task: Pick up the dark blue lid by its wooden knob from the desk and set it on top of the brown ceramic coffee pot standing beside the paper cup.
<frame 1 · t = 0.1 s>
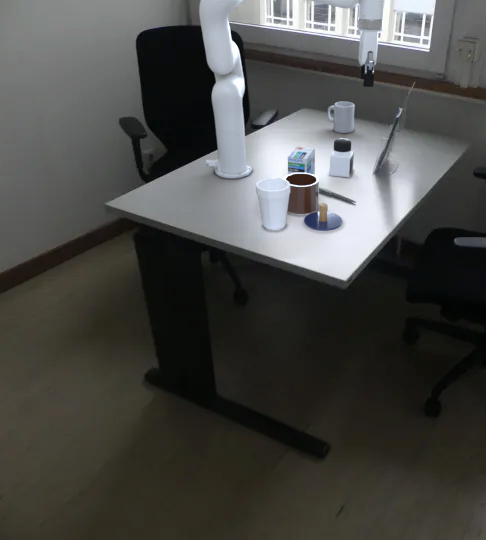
hand: (366, 82, 171), 31 cm above the table, tool pointing down, fingers open, 9 cm apart
coffee pot: (301, 208, 164), on the table
lid: (323, 221, 155), point 1 cm above the table
light bulb box: (301, 183, 180), on the table
mug: (339, 129, 228), on the table
foam cup: (274, 226, 154), on the table
medicine bottle: (341, 173, 188), on the table
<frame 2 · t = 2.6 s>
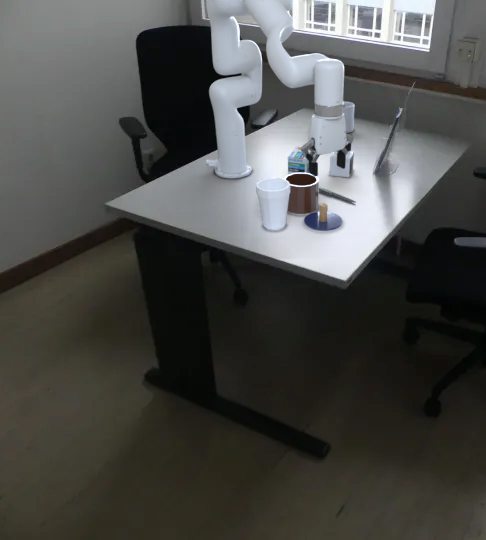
hand: (327, 170, 149), 16 cm above the table, tool pointing down, fingers open, 9 cm apart
nothing on the table moved.
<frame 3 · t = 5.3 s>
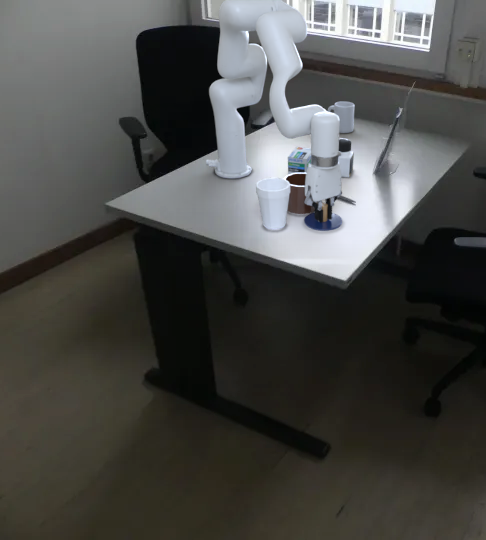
hand: (323, 218, 155), 2 cm above the table, tool pointing down, fingers closed on lid, 2 cm apart
lid: (323, 221, 155), point 1 cm above the table, touching gripper
everything else where it was.
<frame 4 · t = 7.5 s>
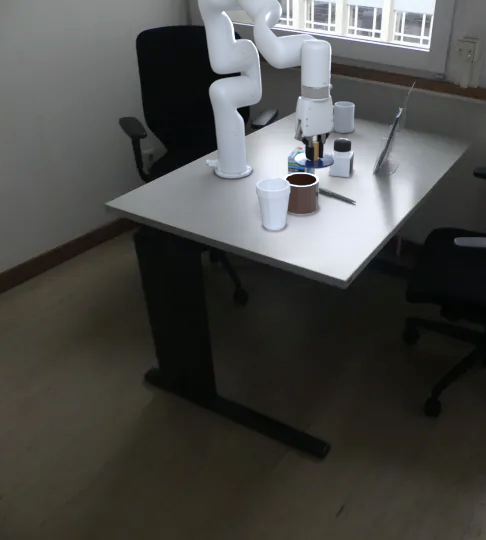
hand: (314, 157, 149), 19 cm above the table, tool pointing down, fingers closed on lid, 2 cm apart
lid: (314, 160, 150), point 18 cm above the table, touching gripper
everything else where it was.
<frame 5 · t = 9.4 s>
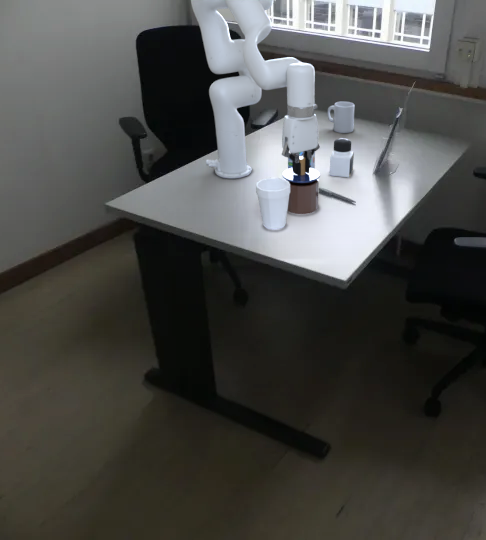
hand: (301, 172, 157), 12 cm above the table, tool pointing down, fingers closed on lid, 2 cm apart
lid: (301, 175, 158), point 11 cm above the table, touching gripper
everything else where it was.
when the fingers open (10 cm above the table, at t = 10.0 s): lid stays where it is, resting on coffee pot.
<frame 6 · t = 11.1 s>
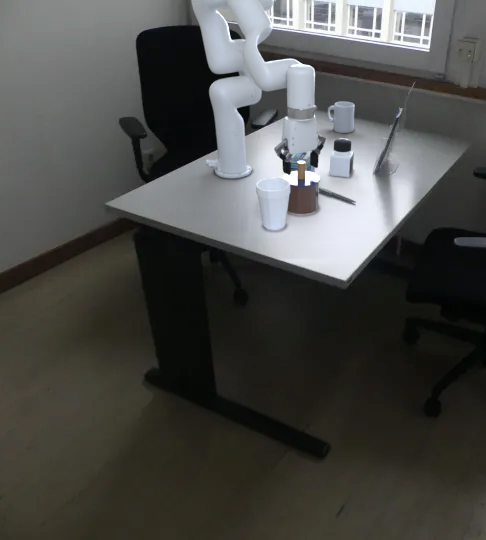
hand: (300, 169, 157), 12 cm above the table, tool pointing down, fingers open, 9 cm apart
lid: (301, 179, 159), point 9 cm above the table, touching coffee pot
everything else where it was.
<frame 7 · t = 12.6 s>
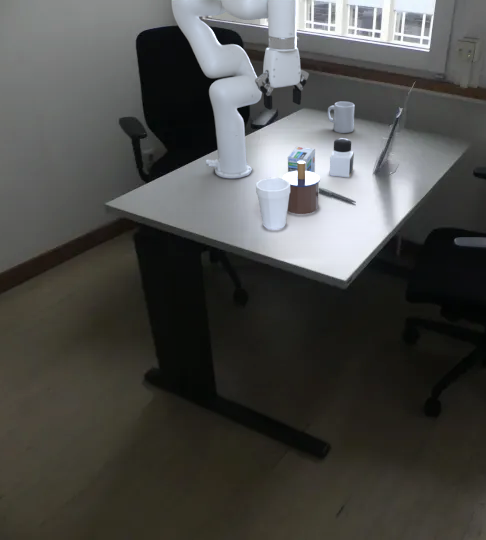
hand: (282, 105, 154), 29 cm above the table, tool pointing down, fingers open, 9 cm apart
nothing on the table moved.
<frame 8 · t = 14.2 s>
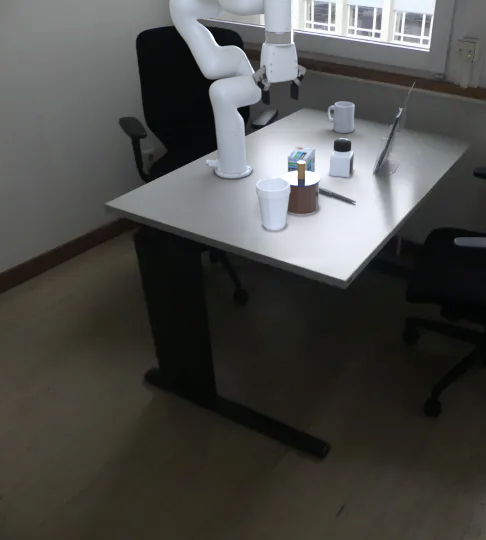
hand: (280, 101, 154), 30 cm above the table, tool pointing down, fingers open, 9 cm apart
nothing on the table moved.
at the end: lid 0.1 cm off-centre in the coffee pot, point 9.5 cm above the coffee pot's base; lid tilted 0°; the gripper is holding nothing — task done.
